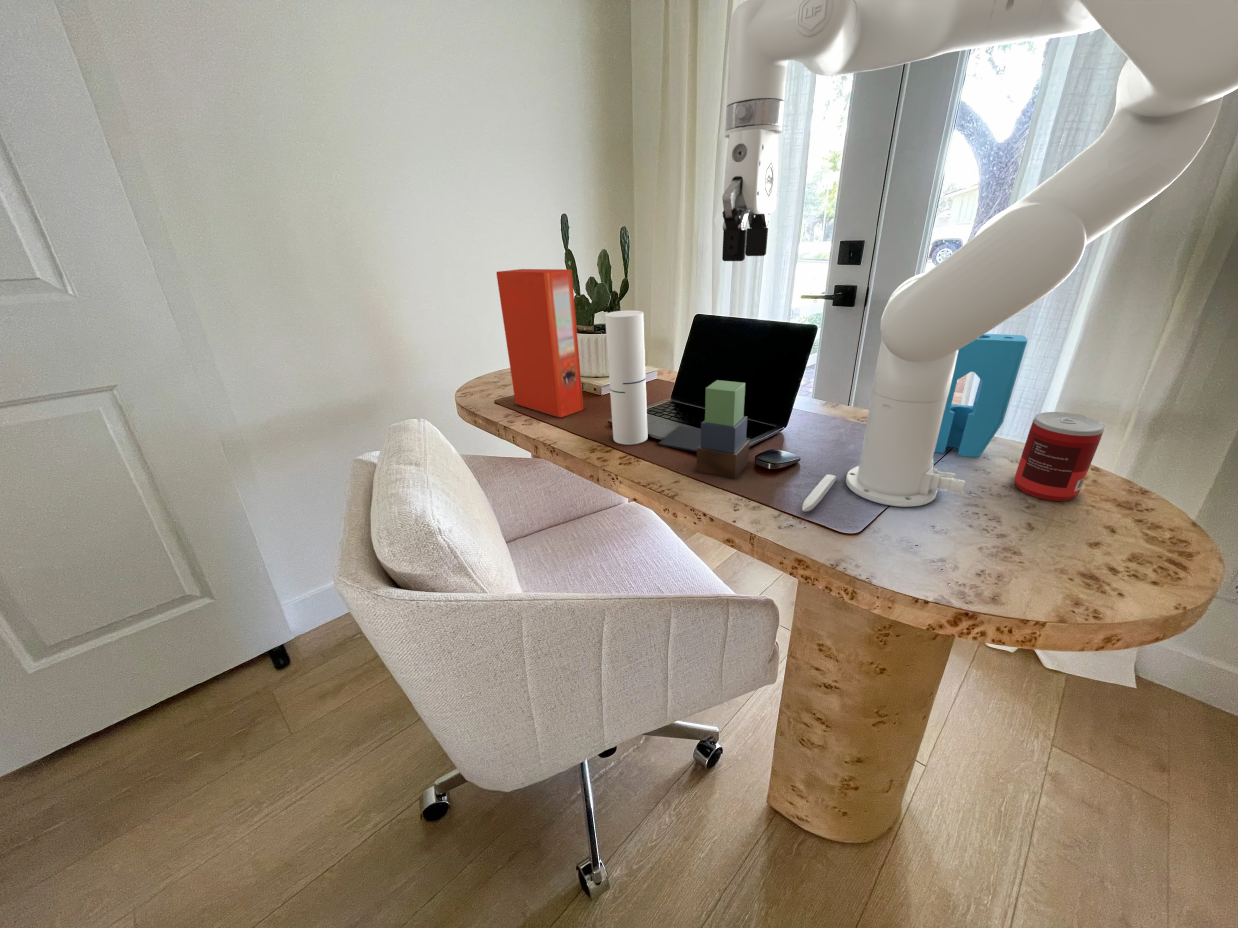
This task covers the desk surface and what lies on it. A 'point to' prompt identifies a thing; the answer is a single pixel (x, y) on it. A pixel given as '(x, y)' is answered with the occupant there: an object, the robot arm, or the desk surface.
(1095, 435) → the canned food
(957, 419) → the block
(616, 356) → the cylindrical container
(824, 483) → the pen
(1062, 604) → the desk surface
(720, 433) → the mid block
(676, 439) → the coaster
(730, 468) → the base block
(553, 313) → the file binder
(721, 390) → the green block
